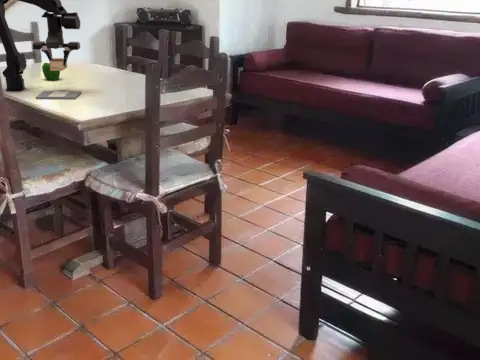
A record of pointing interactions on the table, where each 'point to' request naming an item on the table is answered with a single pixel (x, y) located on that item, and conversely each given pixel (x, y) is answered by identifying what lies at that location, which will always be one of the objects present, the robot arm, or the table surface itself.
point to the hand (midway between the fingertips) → (58, 65)
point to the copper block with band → (57, 64)
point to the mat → (58, 95)
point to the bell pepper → (50, 72)
